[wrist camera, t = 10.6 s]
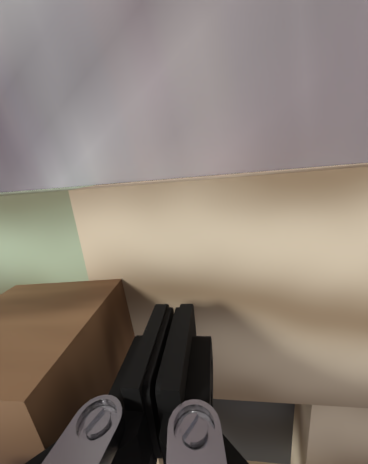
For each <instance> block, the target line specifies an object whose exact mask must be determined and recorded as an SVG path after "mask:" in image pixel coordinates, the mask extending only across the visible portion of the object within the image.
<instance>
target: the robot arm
mask: <svg viewBox="0 0 368 464" xmlns="http://www.w3.org/2000/svg"><path fill="white" fill-rule="evenodd" d="M157 458H159V459H162V458H163V463H164V464H249V463H248V462H247V461H246V460H245V459H244V457H243V456H242V455H241V454H240V453H239V452H238V451H237V449H236V448H235V447H234V446H233V445H232V444H231V442H230V441H229V440H228V439H227V438H226V437H225V436H224V434H223V433H222V430H221V424H220V420H219V417H218V414H217V413H216V411H215V410H214V408H213V352H212V339H211V336H197V335H196V325H195V315H194V305H193V304H180V307H176V308H175V312H174V310H173V307H169V305H168V304H155V306H154V309H153V311H152V314H151V316H150V318H149V321H148V323H147V326H146V328H145V330H144V333H143V335H137V336H135V338H134V339H133V341H132V343H131V346H130V348H129V350H128V352H127V354H126V357H125V359H124V361H123V363H122V365H121V367H120V370H119V372H118V374H117V376H116V378H115V381H114V383H113V385H112V387H111V389H110V391H109V394H108V395H101V396H97V397H95V398H93V399H91V400H89V401H88V402H87V403H85V404H84V405H83V406H82V407H81V408H80V409H79V411H78V412H77V413H76V414H75V416H74V417H73V419H72V420H71V422H70V423H69V425H68V426H67V427H66V429H65V430H64V432H63V433H62V435H61V436H60V438H59V439H58V440H57V442H55V443H54V444H52V445H51V446H49V447H48V448H46V449H45V450H44V451H42V452H41V453H39V454H38V455H36V456H35V457H33V458H32V459H31V460H29V461H28V462H26V463H25V464H157Z"/></svg>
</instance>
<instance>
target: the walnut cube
mask: <svg viewBox="0 0 368 464" xmlns="http://www.w3.org/2000/svg"><path fill="white" fill-rule="evenodd" d="M134 338H135V335H134V330H133V326H132V322H131V317H130V313H129V309H128V305H127V300H126V296H125V292H124V287H123V283H122V279H109V280H93V281H76V282H60V283H43V284H27V285H15V286H14V287H12V288H10V289H9V290H7V291H5V292H4V293H2V294H1V295H0V464H25V463H26V462H28V461H29V460H31V459H32V458H33V457H35V456H36V455H38V454H39V453H41V452H42V451H44V450H45V449H46V448H48V447H49V446H51V445H52V444H54V443H55V442H57V440H58V439H59V438H60V436H61V435H62V433H63V432H64V430H65V429H66V427H67V426H68V425H69V423H70V422H71V420H72V419H73V417H74V416H75V414H76V413H77V412H78V411H79V409H80V408H81V407H82V406H83V405H84V404H85V403H87V402H88V401H89V400H91V399H93V398H95V397H97V396H101V395H108V394H109V391H110V389H111V387H112V385H113V383H114V381H115V378H116V376H117V374H118V372H119V370H120V367H121V365H122V363H123V361H124V359H125V357H126V354H127V352H128V350H129V348H130V346H131V343H132V341H133V339H134Z"/></svg>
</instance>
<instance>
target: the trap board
mask: <svg viewBox="0 0 368 464" xmlns="http://www.w3.org/2000/svg"><path fill="white" fill-rule="evenodd" d="M109 279H122V283H123V287H124V292H125V296H126V300H127V305H128V309H129V313H130V317H131V322H132V326H133V330H134V335H135V336H137V335H143V333H144V330H145V328H146V326H147V323H148V321H149V318H150V316H151V314H152V311H153V309H154V306H155V304H168V305H169V307H173V310H174V312H175V308H176V307H180V304H193V305H194V315H195V325H196V335H197V336H211V339H212V352H213V408H214V410H215V411H216V413H217V414H218V417H219V420H220V424H221V430H222V433H223V434H224V436H225V437H226V438H227V439H228V440H229V441H230V442H231V444H232V445H233V446H234V447H235V448H236V449H237V451H238V452H239V453H240V454H241V455H242V456H243V457H244V459H245V460H246V461H247V462H248V463H249V464H368V163H359V164H347V165H335V166H323V167H310V168H298V169H286V170H274V171H261V172H249V173H237V174H225V175H212V176H200V177H188V178H176V179H163V180H151V181H139V182H127V183H114V184H102V185H90V186H78V187H65V188H53V189H41V190H29V191H16V192H4V193H0V295H1V294H2V293H4V292H5V291H7V290H9V289H10V288H12V287H14V286H15V285H27V284H43V283H60V282H76V281H93V280H109ZM157 464H164V463H163V458H162V459H159V458H157Z"/></svg>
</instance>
